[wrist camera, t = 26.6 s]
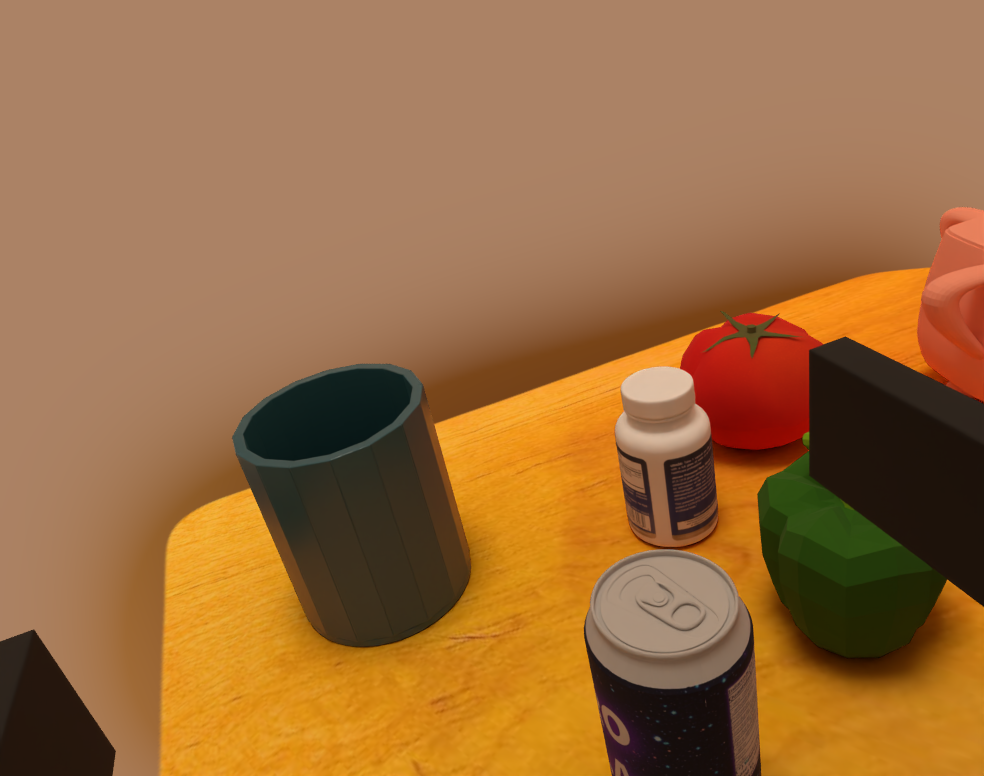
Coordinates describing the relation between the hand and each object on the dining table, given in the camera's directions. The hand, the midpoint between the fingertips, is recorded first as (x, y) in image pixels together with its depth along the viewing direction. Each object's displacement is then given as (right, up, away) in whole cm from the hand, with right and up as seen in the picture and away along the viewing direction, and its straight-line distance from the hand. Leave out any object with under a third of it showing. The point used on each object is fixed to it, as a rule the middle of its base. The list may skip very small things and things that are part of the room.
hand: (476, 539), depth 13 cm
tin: (-6, -9, +35) cm, 37 cm away
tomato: (+19, -1, +41) cm, 45 cm away
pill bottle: (+11, -6, +34) cm, 37 cm away
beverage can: (+8, -15, +19) cm, 26 cm away
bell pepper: (+18, -9, +26) cm, 33 cm away
